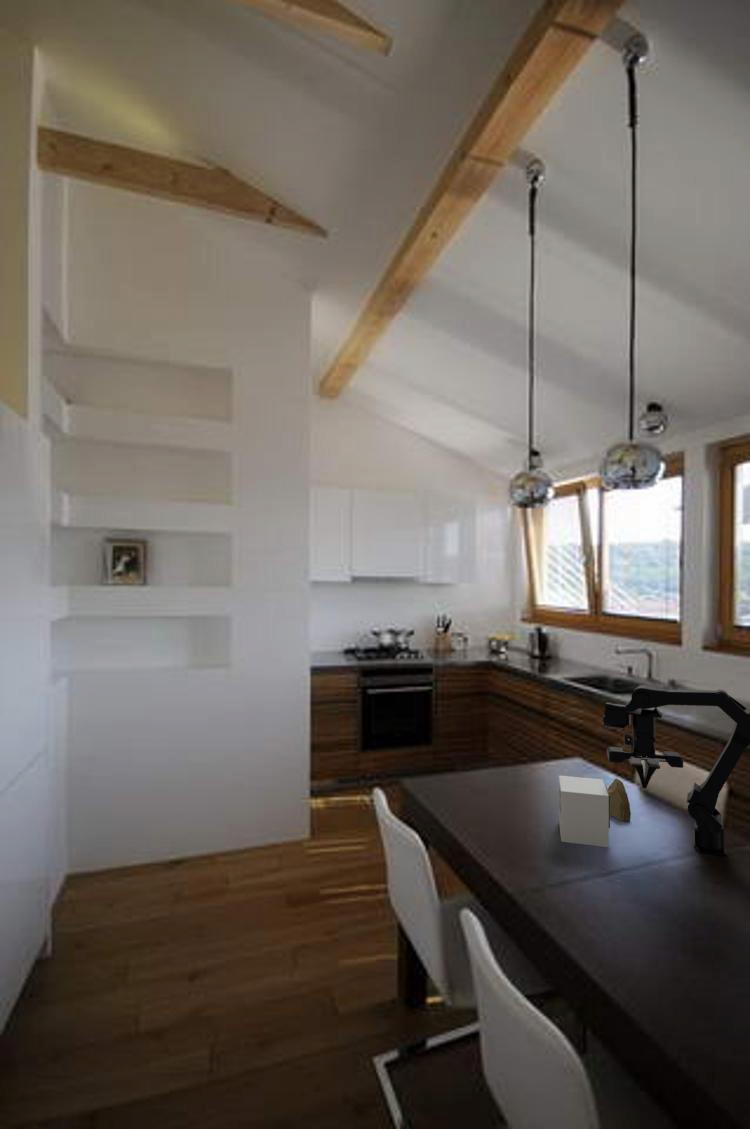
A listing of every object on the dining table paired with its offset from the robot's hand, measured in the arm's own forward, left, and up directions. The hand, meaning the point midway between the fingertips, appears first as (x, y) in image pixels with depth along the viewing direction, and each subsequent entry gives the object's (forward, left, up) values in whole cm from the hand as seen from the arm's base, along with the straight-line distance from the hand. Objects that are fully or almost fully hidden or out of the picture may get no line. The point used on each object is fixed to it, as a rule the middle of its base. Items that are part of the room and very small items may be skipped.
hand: (644, 788), depth 159 cm
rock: (+6, -13, -13) cm, 20 cm away
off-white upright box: (+16, +4, -13) cm, 21 cm away
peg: (+16, +4, -7) cm, 18 cm away
